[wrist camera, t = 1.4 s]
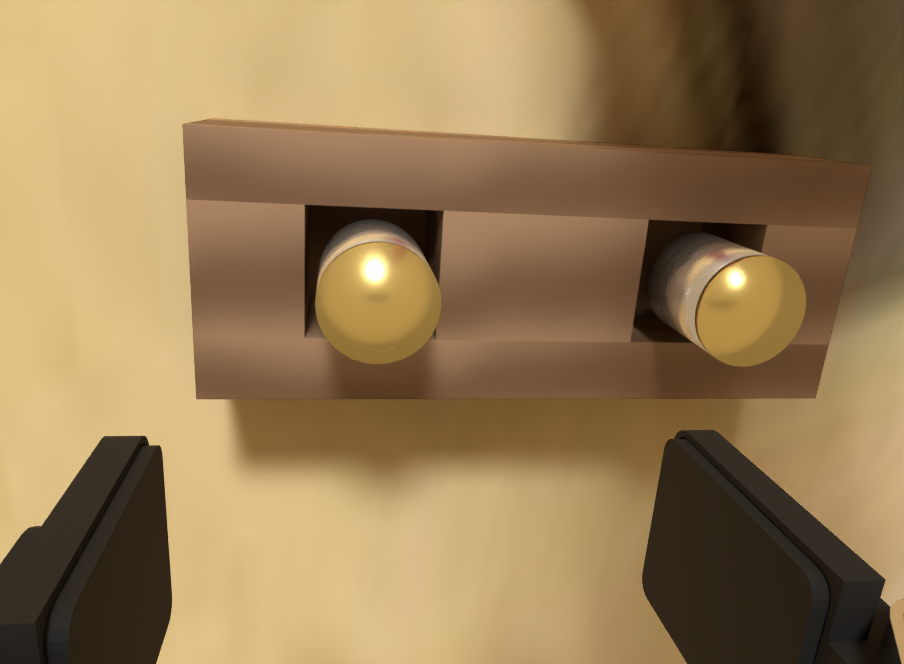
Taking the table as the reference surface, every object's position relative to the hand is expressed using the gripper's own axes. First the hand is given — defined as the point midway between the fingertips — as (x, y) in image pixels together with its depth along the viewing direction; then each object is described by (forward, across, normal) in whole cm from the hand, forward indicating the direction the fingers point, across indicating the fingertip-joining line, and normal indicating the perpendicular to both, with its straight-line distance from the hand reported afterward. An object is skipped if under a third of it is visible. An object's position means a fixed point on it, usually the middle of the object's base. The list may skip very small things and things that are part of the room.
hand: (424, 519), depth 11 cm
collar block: (+22, -6, 0) cm, 23 cm away
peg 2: (+17, -13, 0) cm, 21 cm away
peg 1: (+17, 0, 0) cm, 17 cm away
